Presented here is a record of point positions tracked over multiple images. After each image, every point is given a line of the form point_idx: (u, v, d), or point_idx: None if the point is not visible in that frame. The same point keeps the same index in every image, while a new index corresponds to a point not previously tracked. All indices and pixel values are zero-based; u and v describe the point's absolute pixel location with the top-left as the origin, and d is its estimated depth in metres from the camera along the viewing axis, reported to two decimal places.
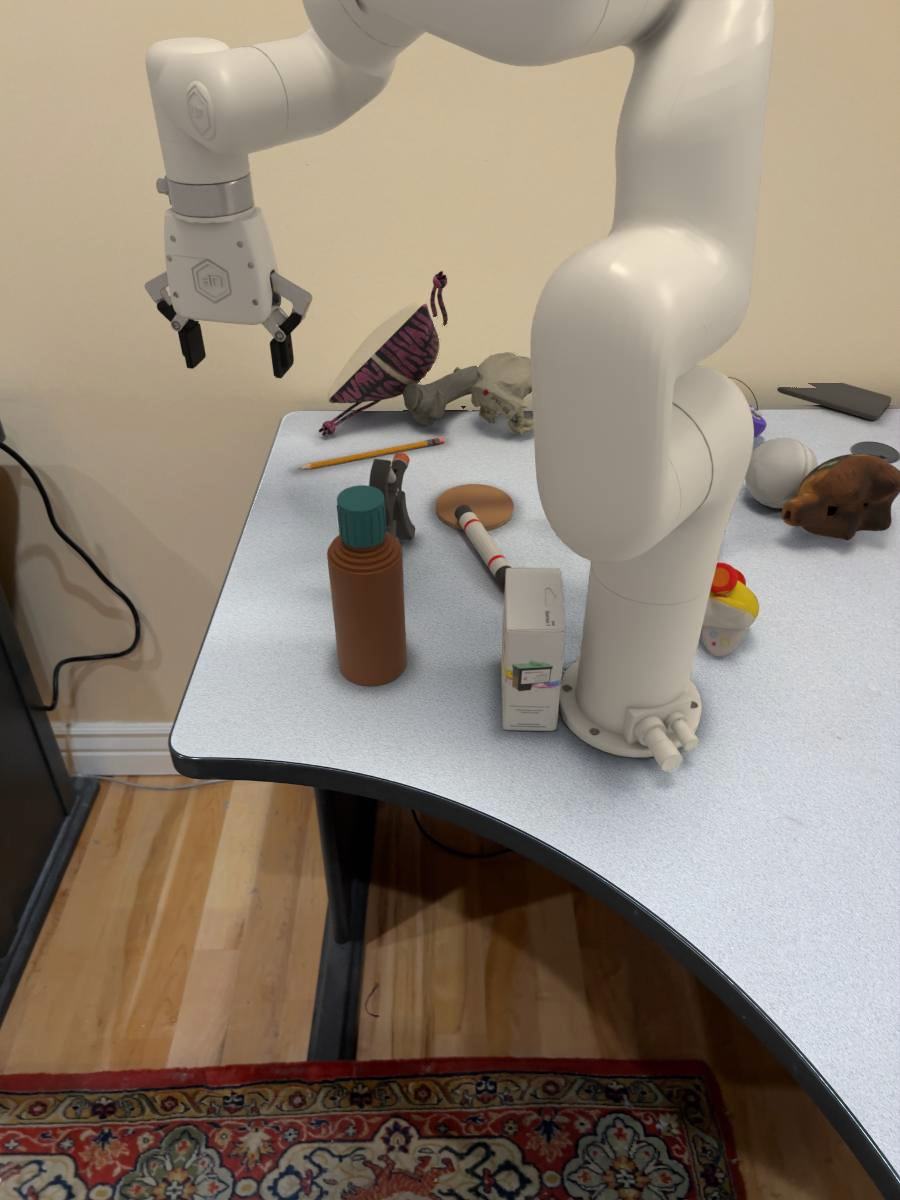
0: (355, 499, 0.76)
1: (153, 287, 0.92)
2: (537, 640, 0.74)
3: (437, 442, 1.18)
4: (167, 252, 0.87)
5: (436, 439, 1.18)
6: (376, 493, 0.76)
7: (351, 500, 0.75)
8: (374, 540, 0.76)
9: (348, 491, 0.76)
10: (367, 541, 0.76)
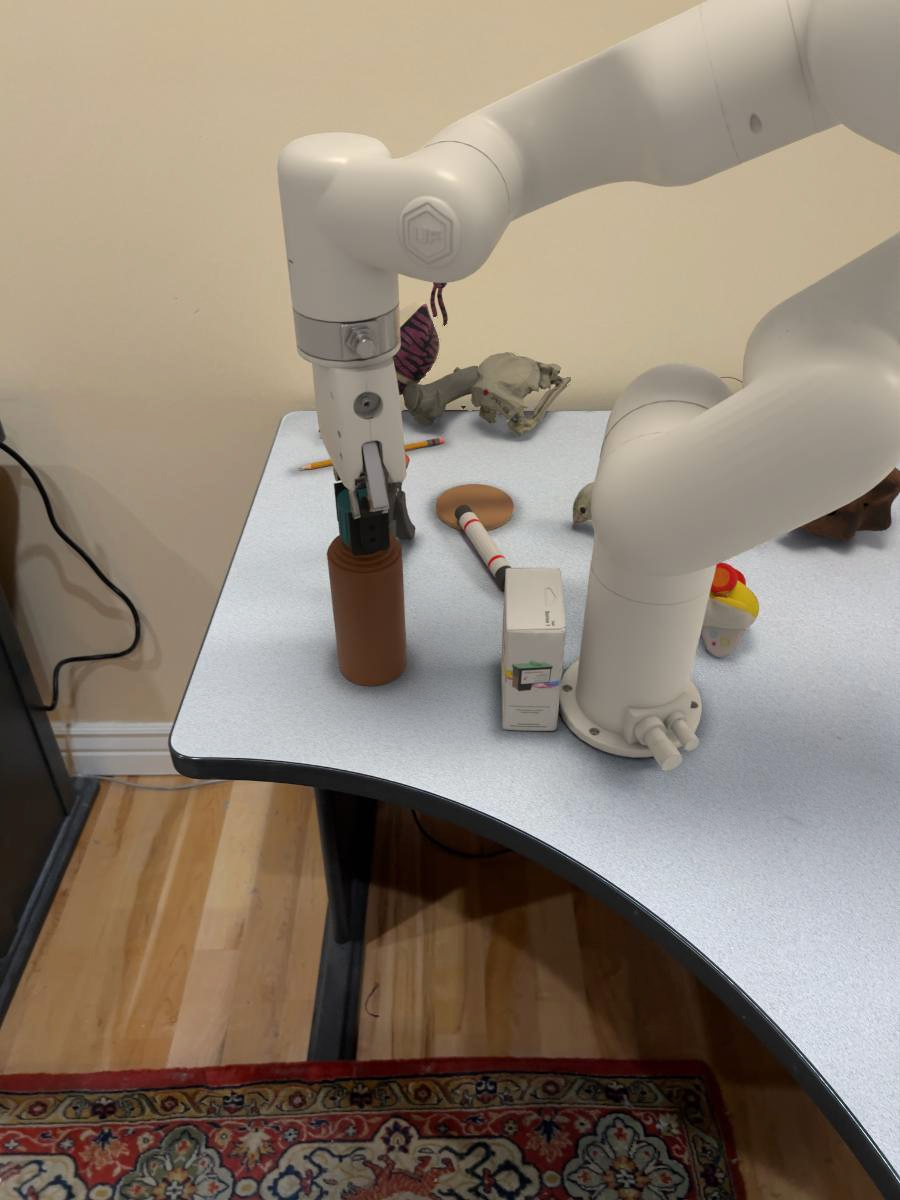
0: None
1: None
2: (536, 640, 0.74)
3: (437, 442, 1.18)
4: (400, 407, 0.67)
5: (436, 439, 1.18)
6: None
7: None
8: None
9: (348, 491, 0.76)
10: None
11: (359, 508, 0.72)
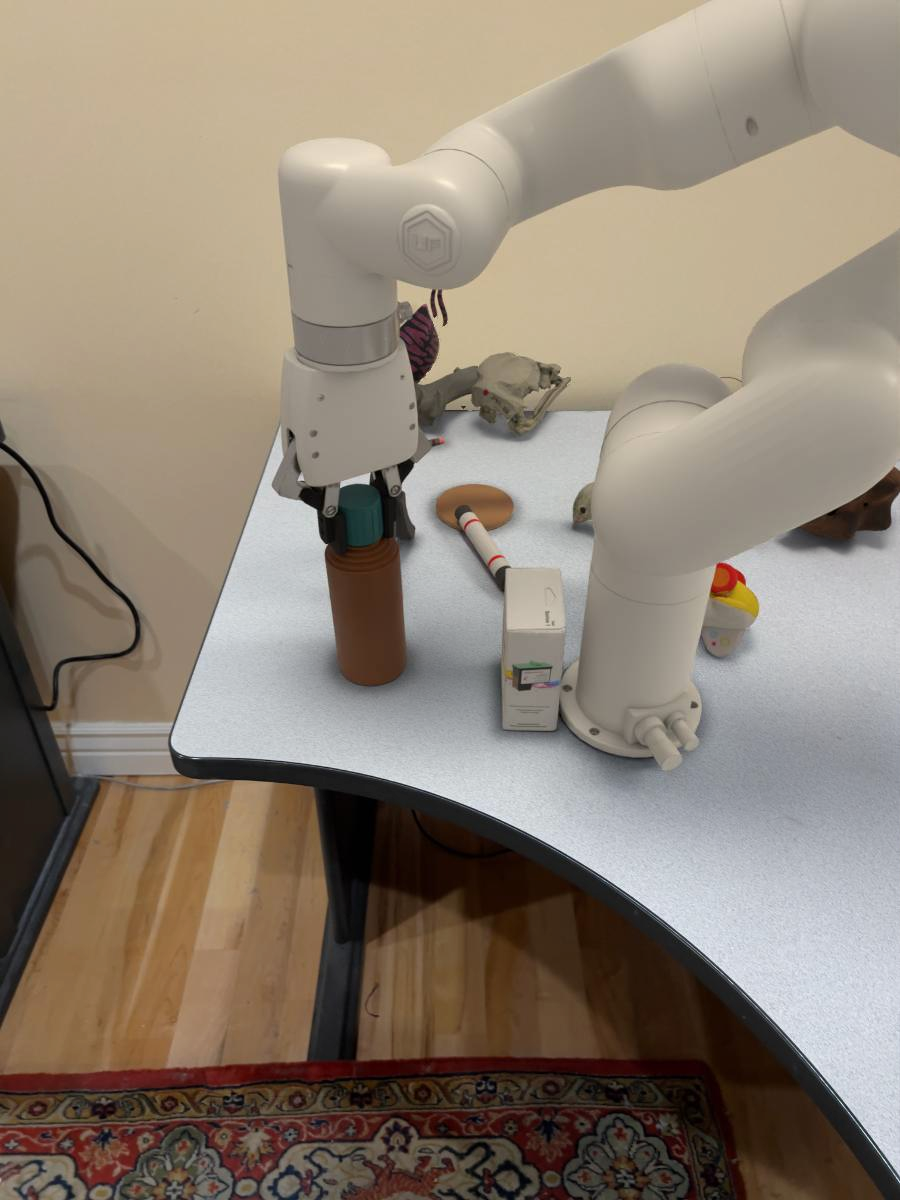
0: (360, 498, 0.75)
1: None
2: (536, 640, 0.74)
3: (437, 442, 1.18)
4: None
5: (436, 439, 1.18)
6: (346, 488, 0.76)
7: (362, 499, 0.75)
8: None
9: (346, 504, 0.75)
10: None
11: None
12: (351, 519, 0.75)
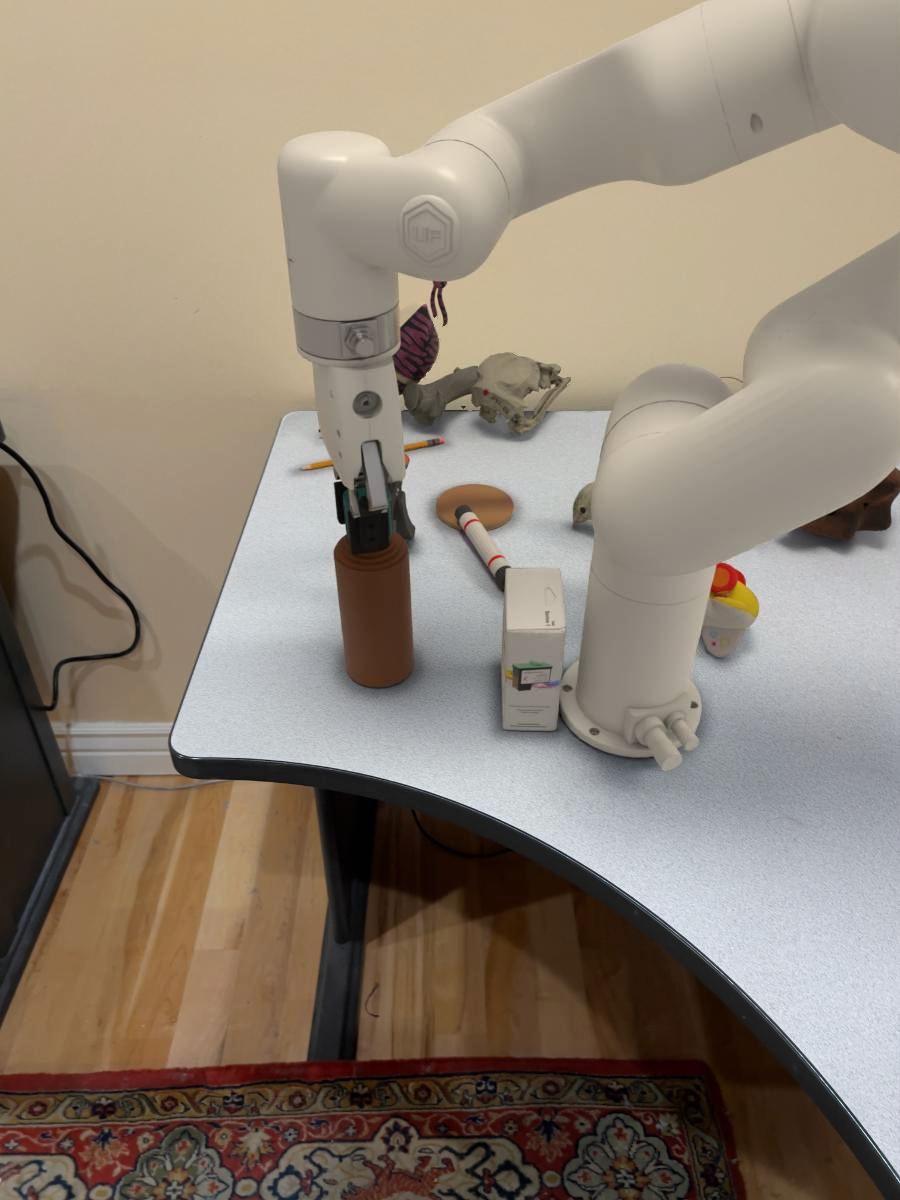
0: None
1: None
2: (536, 640, 0.74)
3: (437, 442, 1.18)
4: None
5: (436, 439, 1.18)
6: None
7: None
8: None
9: None
10: None
11: (358, 507, 0.72)
12: None
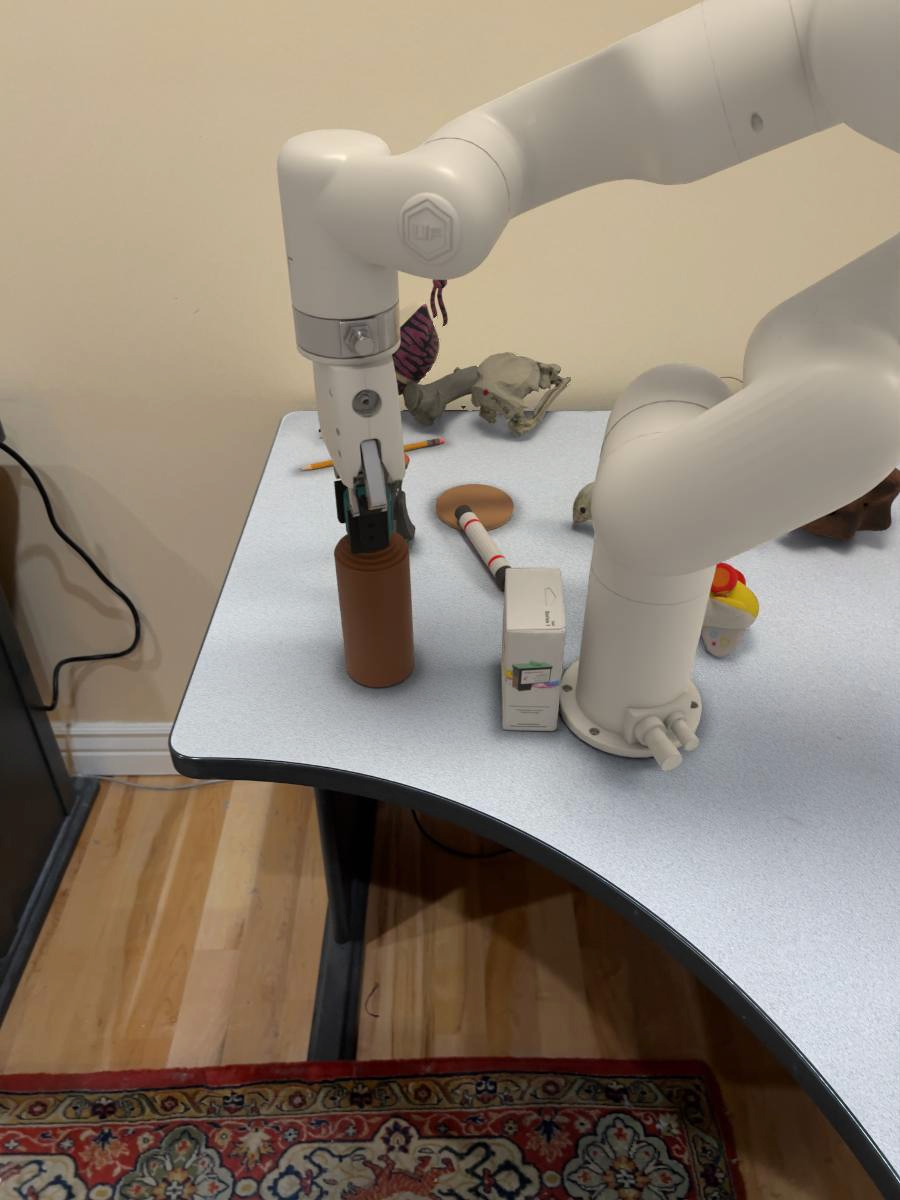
0: None
1: None
2: (536, 640, 0.74)
3: (437, 442, 1.18)
4: (399, 405, 0.67)
5: (436, 439, 1.18)
6: None
7: None
8: None
9: None
10: None
11: (358, 506, 0.72)
12: (391, 502, 0.76)
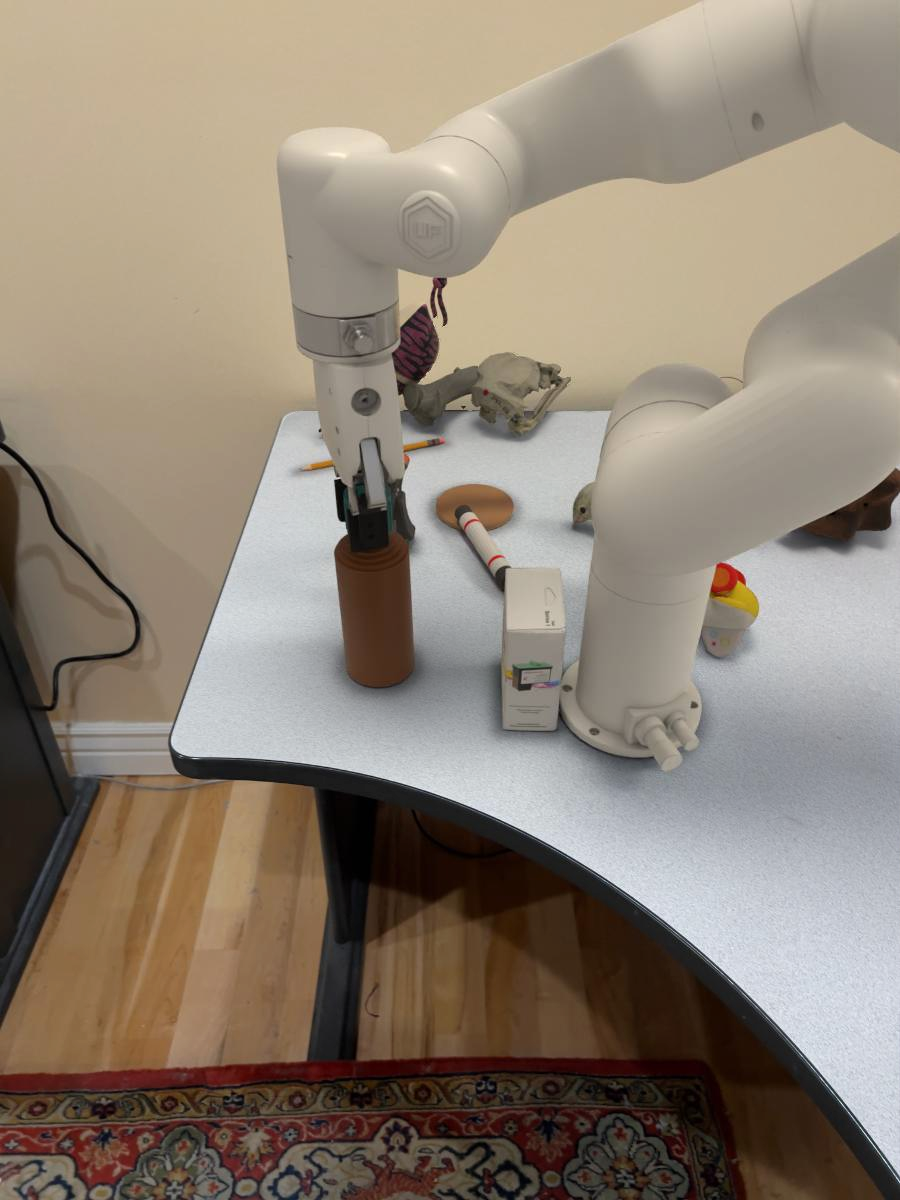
0: (361, 491, 0.76)
1: None
2: (536, 640, 0.74)
3: (437, 442, 1.18)
4: None
5: (436, 439, 1.18)
6: None
7: (358, 490, 0.76)
8: None
9: None
10: None
11: (358, 505, 0.72)
12: None
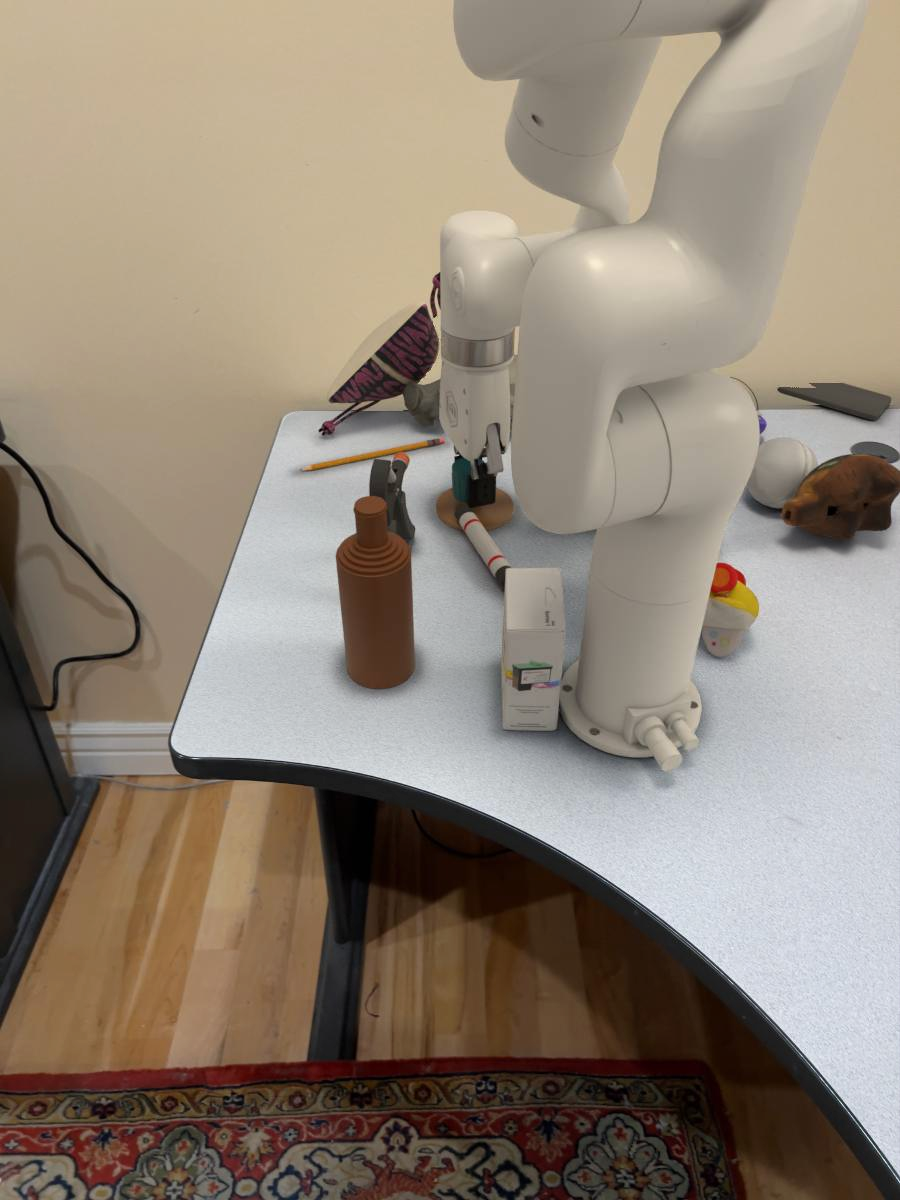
0: None
1: None
2: (536, 640, 0.74)
3: (437, 442, 1.18)
4: (441, 371, 1.00)
5: (436, 439, 1.18)
6: (456, 464, 1.04)
7: None
8: None
9: (470, 473, 1.02)
10: None
11: None
12: None
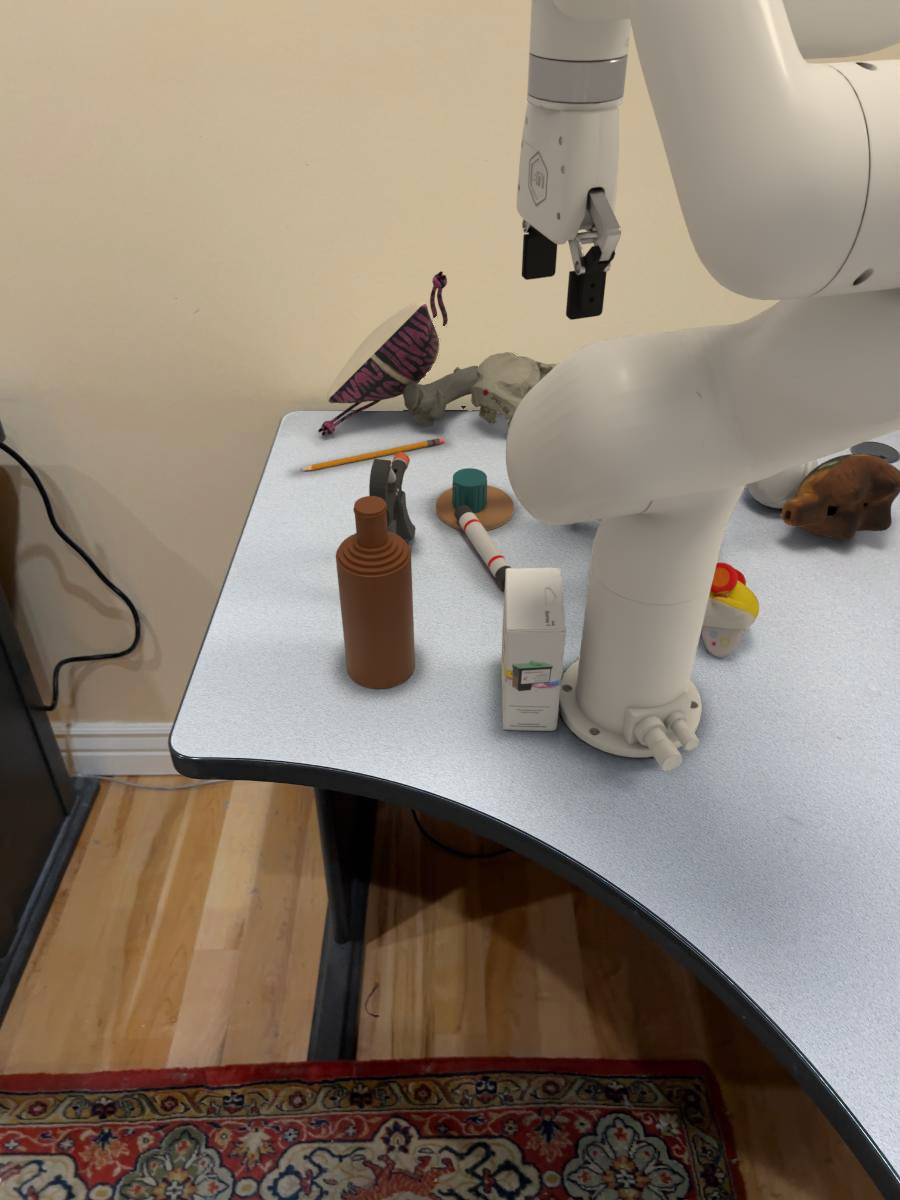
0: (473, 477, 1.04)
1: None
2: (536, 640, 0.74)
3: (437, 442, 1.18)
4: (522, 136, 0.78)
5: (436, 439, 1.18)
6: (457, 475, 1.05)
7: (476, 478, 1.04)
8: None
9: (471, 483, 1.03)
10: None
11: None
12: (476, 493, 1.04)
